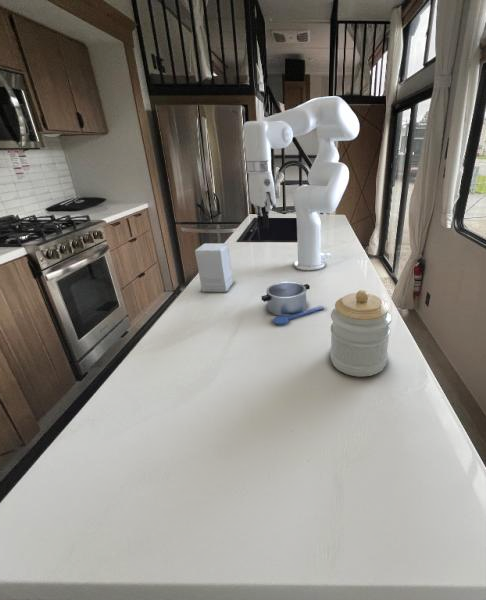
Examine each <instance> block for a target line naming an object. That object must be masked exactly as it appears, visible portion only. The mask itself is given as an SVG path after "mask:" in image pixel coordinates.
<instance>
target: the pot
mask: <svg viewBox="0 0 486 600" xmlns="http://www.w3.org/2000/svg"><path fill="white" fill-rule="evenodd" d="M310 286H311V285H310V284H308V283H306V284H302V283H300V282H294V281H282V282H276V283H273V284H271V285H270V286H268V287H267V288H266V290H265V291H266V294H264V295H261V301H263V302H267V303H266V304H267V311H268V312H269V313H271V314H272V315H274V316H277V317H278V316H286V317H289V316H292V315H295V314H298V313H302V312H305V311H306V309H307V291H308V290H310V288H311V287H310Z"/></svg>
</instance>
